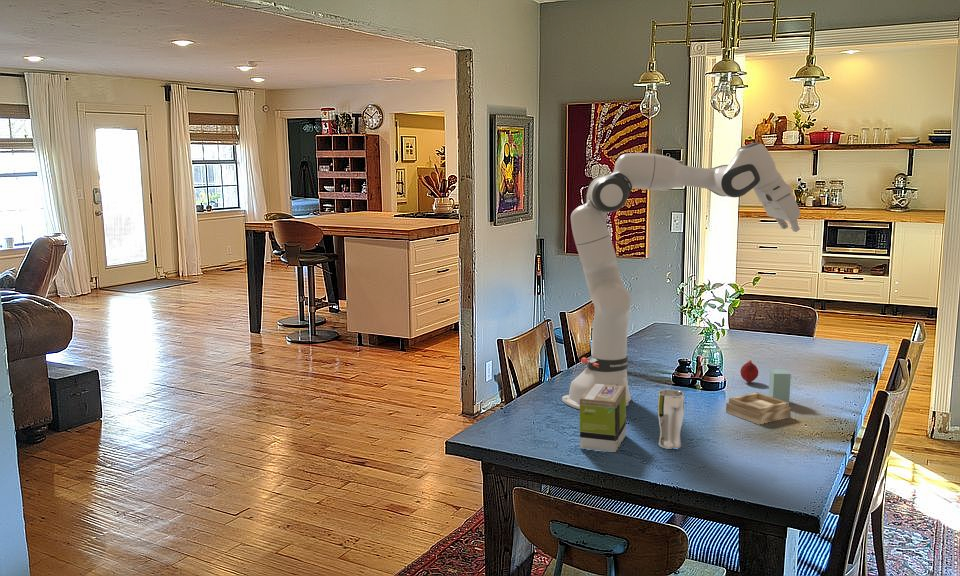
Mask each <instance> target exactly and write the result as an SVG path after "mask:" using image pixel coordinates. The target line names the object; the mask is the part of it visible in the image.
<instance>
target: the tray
mask: <svg viewBox="0 0 960 576" xmlns="http://www.w3.org/2000/svg"><path fill="white" fill-rule="evenodd" d="M725 405H726V406H725V413H727V414H730V415H732V416H734V417H737V418H740V419H742V418H743V419H742V420H745V419H746V420H745V421H747V420H748V422H750V421H751V423H753V424H755V423H756V424H755V425H759V426H760V424H761V425H764V423H765V424H768V422H769V423H772V421H773V422H777V420H778V421H782V420H785V418H786V419H789V418H791V416H792V415H791V413H792V407H789V405H790V402H789V403H788V402H785V401H782V400H779V399H776V398H773V397H770V396H769V395H768V394H767V395H766V394H764V393H762V392H753V393H746V394H743V395H739V396H733V397H730V398H728V402H726V403H725ZM781 419H782V420H781Z"/></svg>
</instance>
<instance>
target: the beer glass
mask: <svg viewBox="0 0 960 576" xmlns="http://www.w3.org/2000/svg"><path fill="white" fill-rule="evenodd" d="M684 396H685V395H684V392H683V391H681V390H678V389H670V388H669V389H667V388H666V389H662V390H659V391H658V398H657V417H658V424H659V425H658V426H659V437H658V445H659V446H661V447H663V448H669V449H672V448H679V447H682V441H681V440H682V439H681V429H682V425H683V421H684V420H683V419H684V416H685V415H684V414H685V397H684ZM659 446H658V447H659ZM663 448H662V449H663Z"/></svg>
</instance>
